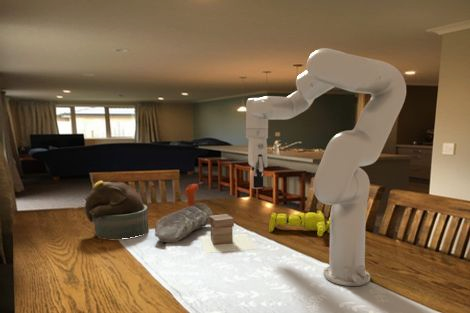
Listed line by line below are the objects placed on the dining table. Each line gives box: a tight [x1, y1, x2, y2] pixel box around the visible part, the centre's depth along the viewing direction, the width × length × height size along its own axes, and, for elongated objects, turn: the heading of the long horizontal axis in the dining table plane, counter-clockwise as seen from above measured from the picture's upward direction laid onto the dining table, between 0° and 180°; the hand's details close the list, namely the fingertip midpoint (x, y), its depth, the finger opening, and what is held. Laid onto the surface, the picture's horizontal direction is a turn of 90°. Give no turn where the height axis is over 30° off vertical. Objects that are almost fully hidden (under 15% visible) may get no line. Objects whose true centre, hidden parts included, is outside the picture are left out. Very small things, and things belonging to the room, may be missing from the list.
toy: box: [268, 210, 330, 237], centre depth 149 cm, size 30×9×30 cm
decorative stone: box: [154, 203, 214, 244], centre depth 146 cm, size 32×15×10 cm, turn 160°
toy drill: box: [184, 181, 203, 207], centre depth 184 cm, size 5×19×15 cm, turn 162°
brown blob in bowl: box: [84, 180, 150, 239], centre depth 148 cm, size 23×25×22 cm
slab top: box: [208, 213, 235, 229], centre depth 134 cm, size 7×7×3 cm
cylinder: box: [249, 169, 264, 190], centre depth 128 cm, size 4×4×6 cm
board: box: [200, 233, 259, 254], centre depth 133 cm, size 18×18×1 cm
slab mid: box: [210, 225, 234, 237], centre depth 134 cm, size 7×7×3 cm
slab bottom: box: [210, 232, 234, 245], centre depth 134 cm, size 7×7×3 cm
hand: (256, 185), depth 129 cm, fingers closed on cylinder, 4 cm apart
